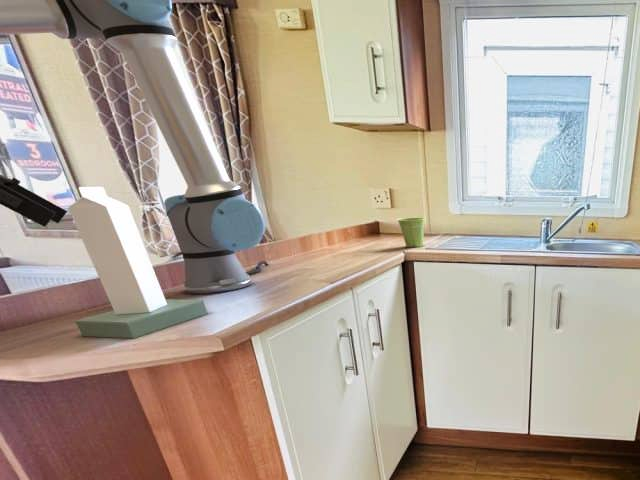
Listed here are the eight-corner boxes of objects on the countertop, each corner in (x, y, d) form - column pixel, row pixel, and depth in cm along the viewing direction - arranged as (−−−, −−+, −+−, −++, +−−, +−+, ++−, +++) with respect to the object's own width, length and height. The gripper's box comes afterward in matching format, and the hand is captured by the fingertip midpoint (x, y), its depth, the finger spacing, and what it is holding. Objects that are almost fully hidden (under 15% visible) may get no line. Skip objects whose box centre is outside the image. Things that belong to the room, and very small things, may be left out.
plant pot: (395, 248, 179) (391, 220, 174) (410, 244, 189) (406, 217, 184) (420, 248, 176) (416, 219, 171) (433, 244, 186) (430, 217, 181)
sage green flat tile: (162, 312, 93) (157, 299, 91) (207, 313, 90) (202, 299, 89) (82, 336, 79) (74, 320, 77) (133, 338, 76) (126, 322, 75)
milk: (167, 305, 86) (122, 186, 77) (149, 312, 81) (98, 186, 71) (135, 307, 85) (85, 187, 76) (114, 315, 80) (58, 187, 71)
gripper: (-125, 140, 66) (54, 232, 81) (-226, 118, 48) (28, 241, 63) (-94, 103, 67) (78, 200, 82) (-182, 67, 49) (59, 201, 64)
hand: (57, 218), depth 72 cm, fingers open, 13 cm apart
